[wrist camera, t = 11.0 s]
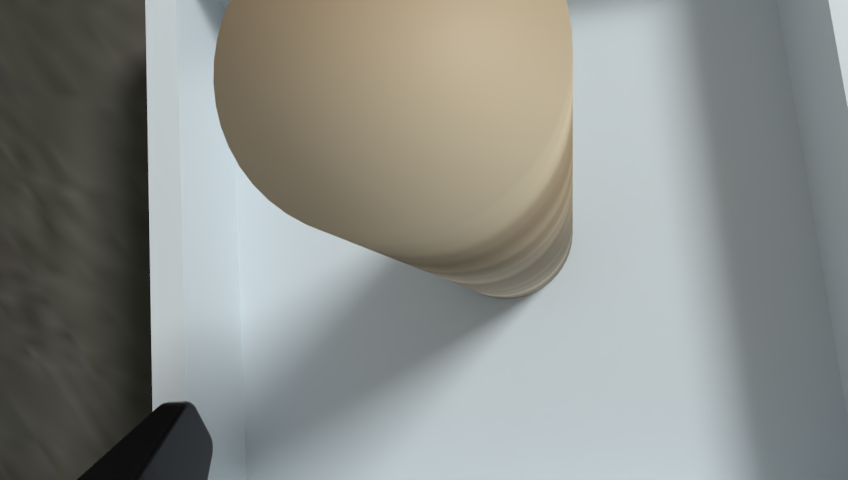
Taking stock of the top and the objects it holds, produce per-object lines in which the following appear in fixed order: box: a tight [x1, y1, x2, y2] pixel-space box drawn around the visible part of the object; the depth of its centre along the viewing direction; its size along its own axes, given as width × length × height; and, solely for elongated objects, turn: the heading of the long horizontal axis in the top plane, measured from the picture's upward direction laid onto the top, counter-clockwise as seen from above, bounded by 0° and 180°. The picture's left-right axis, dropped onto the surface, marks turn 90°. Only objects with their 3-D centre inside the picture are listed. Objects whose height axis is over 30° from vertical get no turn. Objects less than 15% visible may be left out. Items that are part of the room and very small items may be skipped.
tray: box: [145, 0, 848, 480], centre depth 17 cm, size 16×16×4 cm
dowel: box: [213, 0, 573, 299], centre depth 12 cm, size 3×3×12 cm
